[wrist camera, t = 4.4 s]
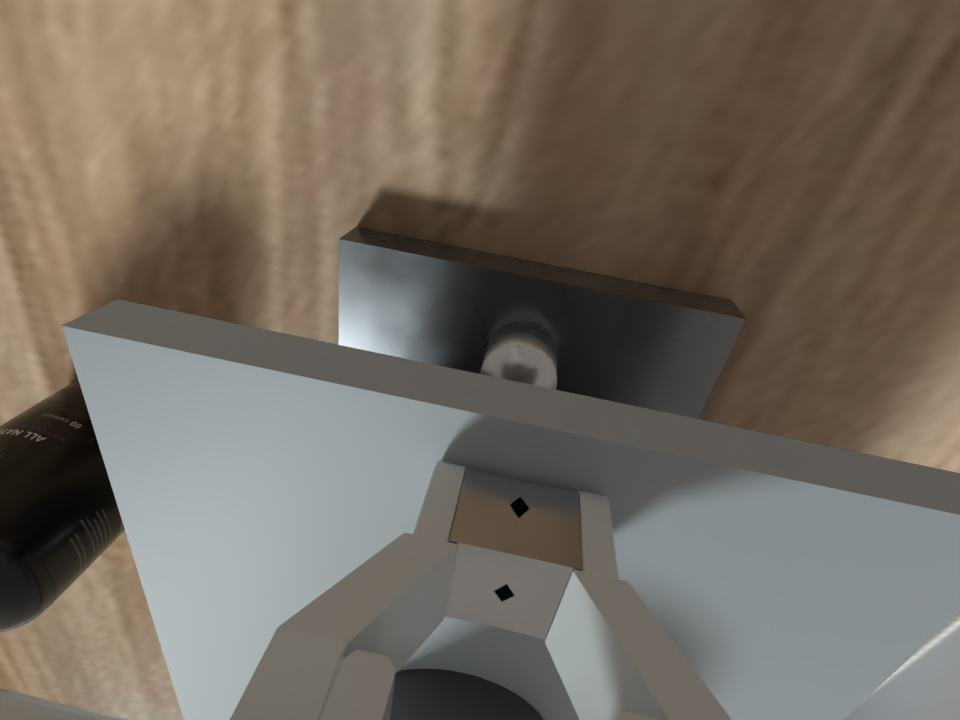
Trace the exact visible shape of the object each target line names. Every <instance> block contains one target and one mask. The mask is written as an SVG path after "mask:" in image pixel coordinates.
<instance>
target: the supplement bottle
mask: <svg viewBox="0 0 960 720" xmlns="http://www.w3.org/2000/svg"><path fill="white" fill-rule="evenodd" d="M124 531H125V528H124V525H123V522H122V519H121V515H120V512H119V509H118V506H117V502H116V499H115V496H114V493H113V490H112V486H111V483H110V480H109V477H108V473H107V470H106V467H105V464H104V461H103V457H102V454H101V451H100V448H99V444H98V441H97V438H96V435H95V432H94V428H93V425H92V422H91V419H90V415H89V412H88V409H87V406H86V403H85V399H84V396H83V393H82V390H81V386H80V383H79V382H75V383H73V384H70V385H68V386H66V387H65V388H63V389H61V390H59V391H58V392H56V393H54V394H53V395H51V396H49V397H47V398H46V399H44V400H42V401H41V402H39V403H37V404H36V405H34V406H32V407H31V408H29V409H27V410H26V411H24V412H23V413H21V414H19V415H18V416H16V417H14V418H13V419H11V420H9V421H8V422H6V423H4V424H3V425H1V426H0V632H5V631H9V630H12V629H15V628H17V627H20V626H22V625H24V624H26V623H28V622H30V621H32V620H34V619H35V618H37V617H38V616H39V615H40V614H42V613H43V612H44V611H45V610H46V609H47V608H48V607H49V606H50V605H51V604H52V603H53V602H54V601H55V600H56V599H57V598H58V597H59V596H60V595H61V594H62V593H63V592H64V591H65V590H66V589H67V588H68V587H69V586H70V585H71V584H72V583H73V582H74V581H75V580H76V579H77V578H78V577H79V576H80V575H81V574H82V573H83V572H84V571H85V570H86V569H87V568H88V567H89V566H90V565H91V564H92V563H93V562H94V561H95V560H96V559H97V558H98V557H99V556H100V555H101V554H102V553H103V552H104V551H105V550H106V549H107V548H108V547H109V546H110V545H111V544H112V543H113V542H114V541H115V540H116V539H117V538H118V537H119V536H120V535H121V534H122V533H123V532H124Z"/></svg>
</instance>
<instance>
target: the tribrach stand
mask: <svg viewBox="0 0 960 720" xmlns="http://www.w3.org/2000/svg"><path fill="white" fill-rule="evenodd" d="M745 321H746V318H745V317H744V315H743V314H742V313H741V312H740V310H739V309H738V308H737V307H736V305H735V304H734V303H733V301H731V300H726V299H721V298H716V297H711V296H706V295H701V294H696V293H690V292H685V291H680V290H675V289H670V288H665V287H660V286H655V285H649V284H644V283H639V282H634V281H629V280H624V279H619V278H614V277H608V276H603V275H598V274H593V273H588V272H583V271H578V270H573V269H567V268H562V267H557V266H552V265H547V264H542V263H537V262H532V261H526V260H521V259H516V258H511V257H506V256H501V255H496V254H491V253H485V252H480V251H475V250H470V249H465V248H460V247H455V246H450V245H444V244H439V243H434V242H429V241H424V240H419V239H414V238H409V237H403V236H398V235H393V234H388V233H383V232H378V231H373V230H368V229H362V228H357V227H355V228H354V229H353V230H351V231H350V232H348V233H347V234H346V235H344V236H343V237H341V238H340V239H339V345H342V346H347V347H352V348H357V349H361V350H366V351H371V352H376V353H381V354H386V355H390V356H395V357H400V358H405V359H410V360H414V361H419V362H424V363H429V364H434V365H439V366H443V367H448V368H453V369H458V370H463V371H468V372H472V373H477V374H482V375H487V376H492V377H497V378H501V379H506V380H511V381H516V382H521V383H526V384H530V385H535V386H540V387H545V388H550V389H555V390H559V391H564V392H569V393H574V394H579V395H584V396H588V397H593V398H598V399H603V400H608V401H613V402H617V403H622V404H627V405H632V406H637V407H642V408H646V409H651V410H656V411H661V412H666V413H671V414H675V415H680V416H685V417H690V418H695V419H699V417H700V415H701V413H702V411H703V409H704V406H705V404H706V402H707V400H708V398H709V396H710V394H711V392H712V390H713V388H714V386H715V384H716V382H717V379H718V377H719V375H720V373H721V371H722V369H723V367H724V365H725V363H726V361H727V359H728V357H729V354H730V352H731V350H732V348H733V346H734V344H735V342H736V340H737V338H738V336H739V334H740V332H741V329H742V327H743V325H744V323H745Z"/></svg>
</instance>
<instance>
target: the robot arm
mask: <svg viewBox="0 0 960 720" xmlns="http://www.w3.org/2000/svg"><path fill="white" fill-rule="evenodd" d="M444 617H448V618H454V619H459V620H464V621H469V622H474V623H479V624H484V625H489V626H494V627H498V628H502V629H506V630H510V631H514V632H518V633H522V634H526V635H529V636H533V637H537V638H541V639H545V640H546V641H545V644H546V646H547V648H548V650H549V653H550V655H551V657H552V659H553V662H554V664H555V666H556V668H557V671H558V673H559V675H560V677H561V679H562V682H563V684H564V686H565V688H566V691H567V693H568V695H569V697H570V700H571V702H572V704H573V706H574V709H575V711H576V713H577V715H578V717H579V720H732V719H731V718H730V717H729V715H728V714H727V713H726V711H725V710H724V709H723V707H722V706H721V705H720V703H719V702H718V701H717V699H716V698H715V697H714V695H713V694H712V693H711V691H710V690H709V689H708V687H707V686H706V685H705V683H704V682H703V681H702V679H701V678H700V677H699V675H698V674H697V673H696V671H695V670H694V669H693V667H692V666H691V665H690V663H689V662H688V661H687V659H686V658H685V657H684V655H683V654H682V653H681V651H680V650H679V649H678V647H677V646H676V645H675V643H674V642H673V641H672V639H671V638H670V637H669V635H668V634H667V633H666V631H665V630H664V629H663V627H662V626H661V625H660V623H659V622H658V621H657V619H656V618H655V617H654V615H653V614H652V613H651V611H650V610H649V609H648V607H647V606H646V605H645V603H644V602H643V601H642V599H641V598H640V597H639V595H638V594H637V593H636V591H635V590H634V589H633V587H632V586H631V585H630V583H629V582H627V581H623V580H619V575H618V567H617V559H616V551H615V543H614V535H613V527H612V519H611V511H610V503H609V500H608V498H607V497H606V496H603V495H598V494H593V493H588V492H583V491H576V490H572V489H567V488H562V487H557V486H552V485H547V484H542V483H537V482H532V481H527V480H522V479H517V478H513V477H508V476H504V475H500V474H496V473H491V472H487V471H483V470H479V469H475V468H470V467H467V468H466V467H463V466H459V465H455V464H451V463H447V462H442V461H438V462H437V464H436V465H435V467H434V470H433V474H432V477H431V480H430V483H429V486H428V489H427V492H426V495H425V499H424V502H423V505H422V508H421V511H420V514H419V517H418V520H417V523H416V527H415V530H414V533H413V534H409V533H403V534H402V535H400V536H399V537H398V538H396V539H395V540H394V541H392V542H391V543H390V544H388V545H387V546H386V547H384V548H383V549H382V550H380V551H379V552H378V553H376V554H375V555H374V556H372V557H371V558H370V559H368V560H367V561H366V562H364V563H363V564H361V565H360V566H359V567H357V568H356V569H355V570H353V571H352V572H351V573H349V574H348V575H347V576H345V577H344V578H343V579H341V580H340V581H339V582H337V583H336V584H335V585H333V586H332V587H331V588H329V589H328V590H327V591H325V592H324V593H323V594H321V595H320V596H319V597H317V598H316V599H315V600H313V601H312V602H311V603H309V604H308V605H307V606H305V607H304V608H303V609H301V610H300V611H299V612H297V613H296V614H295V615H293V616H292V617H291V618H289V619H288V620H287V621H285V622H284V623H283V624H281V625H280V626H279V627H277V629H276V631H275V633H274V635H273V637H272V639H271V641H270V643H269V645H268V647H267V649H266V651H265V653H264V654H263V656H262V658H261V660H260V662H259V664H258V666H257V668H256V670H255V672H254V674H253V676H252V678H251V680H250V681H249V683H248V685H247V687H246V689H245V691H244V693H243V695H242V697H241V699H240V701H239V703H238V705H237V707H236V708H235V710H234V712H233V714H232V716H231V718H230V720H390V715H391V707H392V698H393V690H394V681H395V674H396V673H397V672H398V671H399V670H400V669H401V667H402V666H403V665H404V664H405V663H406V662H407V661H408V660H409V658H410V657H411V656H412V655H413V654H414V653H415V652H416V651H417V649H418V648H419V647H420V646H421V645H422V644H423V643H424V642H425V640H426V639H427V638H428V637H429V636H430V635H431V634H432V633H433V631H434V630H435V629H436V628H437V627H438V626H439V625H440V624H441V622H442V621H443V620H444ZM0 720H128V719H124V718H119V717H115V716H111V715H107V714H103V713H99V712H95V711H91V710H86V709H82V708H78V707H74V706H70V705H66V704H62V703H58V702H54V701H49V700H45V699H41V698H37V697H33V696H29V695H25V694H21V693H17V692H12V691H8V690H4V689H0Z"/></svg>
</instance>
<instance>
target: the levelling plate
mask: <svg viewBox="0 0 960 720" xmlns="http://www.w3.org/2000/svg"><path fill="white" fill-rule="evenodd" d="M62 328H63V332H64V335H65V338H66V341H67V345H68V348H69V351H70V354H71V357H72V361H73V364H74V367H75V370H76V374H77V377H78V380H79V383H80V386H81V390H82V393H83V396H84V399H85V403H86V406H87V409H88V412H89V415H90V419H91V422H92V425H93V428H94V432H95V435H96V438H97V441H98V444H99V448H100V451H101V454H102V457H103V461H104V464H105V467H106V470H107V473H108V477H109V480H110V483H111V486H112V490H113V493H114V496H115V499H116V502H117V506H118V509H119V512H120V515H121V519H122V522H123V525H124V528H125V531H126V535H127V538H128V541H129V544H130V548H131V551H132V554H133V557H134V560H135V564H136V567H137V570H138V573H139V577H140V580H141V583H142V586H143V589H144V593H145V596H146V599H147V602H148V606H149V609H150V612H151V615H152V618H153V622H154V625H155V628H156V631H157V635H158V638H159V641H160V644H161V647H162V651H163V654H164V657H165V660H166V664H167V667H168V670H169V673H170V676H171V680H172V683H173V686H174V689H175V693H176V696H177V699H178V702H179V705H180V709H181V712H182V715H183V718H184V720H230V718H231V716H232V714H233V712H234V710H235V708H236V707H237V705H238V703H239V701H240V699H241V697H242V695H243V693H244V691H245V689H246V687H247V685H248V683H249V681H250V680H251V678H252V676H253V674H254V672H255V670H256V668H257V666H258V664H259V662H260V660H261V658H262V656H263V654H264V653H265V651H266V649H267V647H268V645H269V643H270V641H271V639H272V637H273V635H274V633H275V631H276V629H277V627H279V626H280V625H281V624H283V623H284V622H285V621H287V620H288V619H289V618H291V617H292V616H293V615H295V614H296V613H297V612H299V611H300V610H301V609H303V608H304V607H305V606H307V605H308V604H309V603H311V602H312V601H313V600H315V599H316V598H317V597H319V596H320V595H321V594H323V593H324V592H325V591H327V590H328V589H329V588H331V587H332V586H333V585H335V584H336V583H337V582H339V581H340V580H341V579H343V578H344V577H345V576H347V575H348V574H349V573H351V572H352V571H353V570H355V569H356V568H357V567H359V566H360V565H361V564H363V563H364V562H366V561H367V560H368V559H370V558H371V557H372V556H374V555H375V554H376V553H378V552H379V551H380V550H382V549H383V548H384V547H386V546H387V545H388V544H390V543H391V542H392V541H394V540H395V539H396V538H398V537H399V536H400V535H402V534H403V533H409V534H413V533H414V530H415V527H416V523H417V520H418V517H419V514H420V511H421V508H422V505H423V502H424V499H425V495H426V492H427V489H428V486H429V483H430V480H431V477H432V474H433V470H434V467H435V465H436V464H437V462H438V461H442V462H447V463H451V464H455V465H459V466H463V467H466V468H467V467H470V468H475V469H479V470H483V471H487V472H491V473H496V474H500V475H504V476H508V477H513V478H517V479H522V480H527V481H532V482H537V483H542V484H547V485H552V486H557V487H562V488H567V489H572V490H576V491H583V492H588V493H593V494H598V495H603V496H606V497H607V498H608V500H609V503H610V511H611V519H612V527H613V535H614V543H615V551H616V559H617V567H618V575H619V580H623V581H627V582H629V583H630V585H631V586H632V587H633V589H634V590H635V591H636V593H637V594H638V595H639V597H640V598H641V599H642V601H643V602H644V603H645V605H646V606H647V607H648V609H649V610H650V611H651V613H652V614H653V615H654V617H655V618H656V619H657V621H658V622H659V623H660V625H661V626H662V627H663V629H664V630H665V631H666V633H667V634H668V635H669V637H670V638H671V639H672V641H673V642H674V643H675V645H676V646H677V647H678V649H679V650H680V651H681V653H682V654H683V655H684V657H685V658H686V659H687V661H688V662H689V663H690V665H691V666H692V667H693V669H694V670H695V671H696V673H697V674H698V675H699V677H700V678H701V679H702V681H703V682H704V683H705V685H706V686H707V687H708V689H709V690H710V691H711V693H712V694H713V695H714V697H715V698H716V699H717V701H718V702H719V703H720V705H721V706H722V707H723V709H724V710H725V711H726V713H727V714H728V715H729V717H730V718H731V719H732V720H843V719H844V718H845V717H847V716H848V715H849V714H850V713H851V712H852V711H853V710H854V709H855V708H856V707H857V706H858V705H859V704H861V703H862V702H863V701H864V700H865V699H866V698H867V697H868V696H869V695H870V694H871V693H872V692H873V691H875V690H876V689H877V688H878V687H879V686H880V685H881V684H882V683H883V682H884V681H885V680H886V679H887V678H889V677H890V676H891V675H892V674H893V673H894V672H895V671H896V670H897V669H898V668H899V667H900V666H901V665H903V664H904V663H905V662H906V661H907V660H908V659H909V658H910V657H911V656H912V655H913V654H914V653H915V652H917V651H918V650H919V649H920V648H921V647H922V646H923V645H924V644H925V643H926V642H927V641H928V640H930V639H931V638H932V637H933V636H934V635H935V634H936V633H937V632H938V631H939V630H940V629H941V628H942V627H944V626H945V625H946V624H947V623H948V622H949V621H950V620H951V619H952V618H953V617H954V616H955V615H956V614H958V613H959V612H960V473H956V472H951V471H946V470H941V469H936V468H932V467H927V466H922V465H917V464H912V463H907V462H903V461H898V460H893V459H888V458H883V457H878V456H874V455H869V454H864V453H859V452H854V451H849V450H845V449H840V448H835V447H830V446H825V445H820V444H816V443H811V442H806V441H801V440H796V439H791V438H787V437H782V436H777V435H772V434H767V433H762V432H758V431H753V430H748V429H743V428H738V427H733V426H729V425H724V424H719V423H714V422H709V421H704V420H700V419H695V418H690V417H685V416H680V415H675V414H671V413H666V412H661V411H656V410H651V409H646V408H642V407H637V406H632V405H627V404H622V403H617V402H613V401H608V400H603V399H598V398H593V397H588V396H584V395H579V394H574V393H569V392H564V391H559V390H555V389H550V388H545V387H540V386H535V385H530V384H526V383H521V382H516V381H511V380H506V379H501V378H497V377H492V376H487V375H482V374H477V373H472V372H468V371H463V370H458V369H453V368H448V367H443V366H439V365H434V364H429V363H424V362H419V361H414V360H410V359H405V358H400V357H395V356H390V355H386V354H381V353H376V352H371V351H366V350H361V349H357V348H352V347H347V346H342V345H337V344H332V343H328V342H323V341H318V340H313V339H308V338H303V337H299V336H294V335H289V334H284V333H279V332H274V331H270V330H265V329H260V328H255V327H250V326H245V325H241V324H236V323H231V322H226V321H221V320H216V319H212V318H207V317H202V316H197V315H192V314H187V313H183V312H178V311H173V310H168V309H163V308H158V307H154V306H149V305H144V304H139V303H134V302H129V301H125V300H120V299H117V300H115V301H112V302H110V303H108V304H106V305H104V306H102V307H100V308H98V309H96V310H94V311H91V312H89V313H87V314H85V315H83V316H81V317H79V318H77V319H75V320H73V321H71V322H68V323H66V324H64V325H62ZM545 641H546V640H545V639H541V638H537V637H533V636H529V635H526V634H522V633H518V632H514V631H510V630H506V629H502V628H498V627H494V626H489V625H484V624H479V623H474V622H469V621H464V620H459V619H454V618H448V617H444V620H443V621H442V622H441V624H440V625H439V626H438V627H437V628H436V629H435V630H434V631H433V633H432V634H431V635H430V636H429V637H428V638H427V639H426V640H425V642H424V643H423V644H422V645H421V646H420V647H419V648H418V649H417V651H416V652H415V653H414V654H413V655H412V656H411V657H410V658H409V660H408V661H407V662H406V663H405V664H404V665H403V666H402V667H401V669H400V670H399V671H398V672H397V673H396V674H395V681H394V690H393V698H392V707H391V715H390V720H579V717H578V715H577V713H576V711H575V709H574V706H573V704H572V702H571V700H570V697H569V695H568V693H567V691H566V688H565V686H564V684H563V682H562V679H561V677H560V675H559V673H558V671H557V668H556V666H555V664H554V662H553V659H552V657H551V655H550V653H549V650H548V648H547V646H546V644H545Z"/></svg>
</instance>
